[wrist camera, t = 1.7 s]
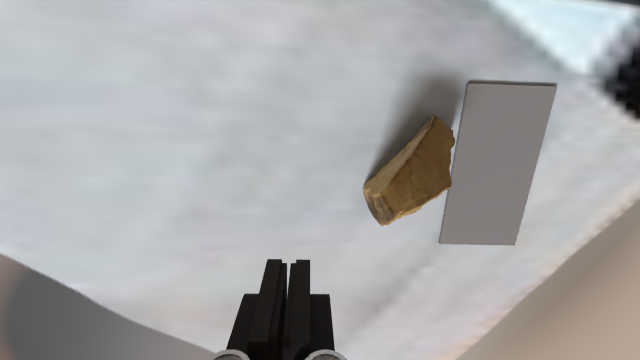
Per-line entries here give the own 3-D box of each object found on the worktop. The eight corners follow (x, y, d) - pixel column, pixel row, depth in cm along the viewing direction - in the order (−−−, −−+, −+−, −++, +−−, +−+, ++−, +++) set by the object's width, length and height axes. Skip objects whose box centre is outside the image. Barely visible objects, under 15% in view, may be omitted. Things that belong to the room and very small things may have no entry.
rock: (447, 78, 24) (337, 131, 24) (528, 147, 19) (390, 215, 19) (437, 158, 33) (356, 197, 33) (491, 219, 28) (396, 266, 28)
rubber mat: (554, 86, 27) (557, 86, 26) (512, 244, 32) (514, 245, 31) (467, 83, 27) (468, 83, 26) (438, 242, 31) (439, 243, 31)
